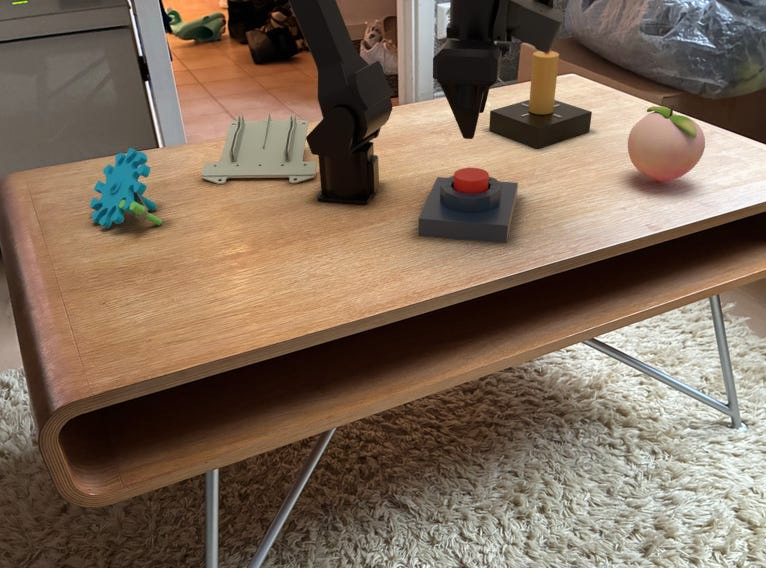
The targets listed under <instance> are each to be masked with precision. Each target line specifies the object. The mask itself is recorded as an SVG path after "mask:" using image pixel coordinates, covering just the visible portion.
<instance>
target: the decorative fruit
mask: <svg viewBox="0 0 766 568" xmlns="http://www.w3.org/2000/svg"><path fill="white" fill-rule="evenodd" d="M674 107H675V104H674V103H673V104H671V106H670V108H669V107H667V106H663V105H662V106H661V105H658V106H654V105H653V106H650V107H648V108H647V110H646V113H648V114H646V115H645V116H644V117H642V118H641V119H639V120H638V121H637V122H636V123H635V124H634V125H633V126H632V128H631V130H630V132H629V134H628V137H627V153H628V157H629V160H630V162H631V163H632V165H633V166H634V168H635V169H636V170H638V172H640V173H641V174H643V175H644V176H646V177H648V178H650V179H652V180H654V181H655V183H656V184H661V183H667V182H670V181H675V180H677V179H679V178H682V177H683V176H685V175H687V174H688V173H689V172H690V171H692V170H693V169H694V168H695V167H696V166H697V164H698V163H699V162H700V160H701V158H702V157H703V154H704V152H705V148H706V138H705V134H704V132H703V129H702V128H701V126H700V125H699V124H698V123H697V122H696V121H695V120H694V119H692V118H689V117H688V116H685V115H680V114H677V113H675V112H674Z"/></svg>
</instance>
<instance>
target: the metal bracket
mask: <svg viewBox="0 0 766 568" xmlns="http://www.w3.org/2000/svg"><path fill="white" fill-rule="evenodd" d="M236 116H237V117H236V120H231V121H230V122H229V126H228V128H227V129H228V130H227V133H226V138H225V141H224V146H223V149H222V154H221V157H220V161H219V162H218V161H216V162H215V161H211V162H209V161H208V162H204V164H203V168H202V171H201V179H203V180H206V181H208V182H211V183H214V184H216V185H224V184H226V183H227V180H228V179H261V178H263V179H265V178H266V179H267V178H269V179H271V178H272V179H273V178H276V179H277V178H278V179H280V178H283V179H284V178H288V180H289V183H290V184H298V183H302V182H304V181H308V180H311V179H314V178H316V174H317V167H318V163H317V161H315V160H314V161H313V160H311V161H307V160H306V161H304V154H305V149H306V142H307V140H306V137H307V135H308V127H309V120H308V119H297V117H296V114H293V115H292V114H289V119H281V120H279V119H277V120H276V119H273V120H272V118H271V112H269V111H268V112H267V116H266V119H265V120H245V117H244V115H243V114H242V115H236Z"/></svg>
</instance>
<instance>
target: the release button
mask: <svg viewBox="0 0 766 568" xmlns="http://www.w3.org/2000/svg"><path fill="white" fill-rule="evenodd" d="M453 175H454V190H455V191H458V192H461V193H472V194H475V193H481V192H485V191H487V190H488V183H489V177H490V173H489V172H488V171H487V170H485V169H483V168H478V167H463V168H459V169H457V170H455V171H454V172H453Z"/></svg>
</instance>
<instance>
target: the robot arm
mask: <svg viewBox="0 0 766 568" xmlns="http://www.w3.org/2000/svg"><path fill="white" fill-rule="evenodd" d="M449 1H450V2H449V23H448V25H447V26H446V29H445V31H446V32H445V33H446V35H445V37H446V39H448V40H446V41H445V43H443V44H442V45H441V46H440V47H439V49H438V50H437V51H436V53H435V54H434V56H433V57H432V79H435V80H436V82H437V84H439V86H440V88H441V91H442V92H443V94H444V96H445V99H446V101H447V103H448V105H449V107H450V110H451V112H452V115H453V117H454V120H455V122H456V125H457V126H458V130H459V131H460V134H461V136H462V138H463V139H465V140H472V139H473V140H474V138H475V134H476V131H477V125H478V121H479V116H480V114H483V113H484V112H485V109H486V105H487V101H488V98H489V93H490V89H491V87H494V86H495V85H496V84H497V83H498V81H499V78H500V76H501V68H502V67H501V66H502V58H503V57H504V56H505V55H507V53H508V52H509V51H510V49H511V46H512V42H513V39H516V40H518V41H521V42H523V43H526V44H528V45H531V46H532V47H534V49H535V50H536V51H542V52H545V53H548V52H549V51H550V49H551V50H552V47H553V44H554V43H555V41H556V38H557V36H558V33H559V32H560V29H561V27H562V24H563V23H564V18H565V14H564V13H563V12H562V10H561V9H559V8H557V9H556V8H555V0H449ZM288 3H289V5H290V8H291V10H292V12H293V15H294V17H295V19H296V22H297V25H298V27H299V29H300V32H301V34H302V36H303V38H304V41H305V43H306V45H307V47H308V50H309V52H310V54H311V57H312V59H313V62H314V65H315V67H316V70H317V101H318V105H319V109H320V112H321V116H322V119H321V120H320V121H319V122H318V124H316V126H315V127H314V128H313V129H312V130H311V131H310V132H309V133H307V135H306V142H307V145H308V148H309V151H310V153H311V154H312V155H314V156H317V158H318V168H319V170H318V171H319V181H320V182H319V183H320V191H319V192H318V194H317V195H316V200H317V201H318V202H327V203H342V204H351V205H352V204H354V205H355V204H356V205H367V204H369V202H370V200H371V199H372V197H373V195H375V193H376V192H377V190H378V189H379V188H380V170H379V169H380V168H379V156H378V155H376V154H375V152H374V149H375V148H374V147H375V146H374V141H373V140H374V139H377V138H378V137H379V135H380V132H381V129H382V127H384V126H385V125H386V123H387V122H388V121H389V120H390V117H391V115H392V112H393V101H392V98H391V96H392V95H394V94H395V92H394V90H393V89H392V88H391V87H390V85H389V84H388V82H387V79H386V76H385V72H384V68H383V65H382V63H381V61H380V60H375V61H373V62H371V63H370V64H369V62H368V61H366V60H365V59H364V58H363V57H362V56H361V55H360V54H359V52H358V51H357V49H356V47H355V45H354V43H353V40H352V38H351V34H350V32H349V30H348V28H347V25H346V23H345V20H344V17H343V15H342V12H341V10H340V8H339V5H338V2H337V0H288Z"/></svg>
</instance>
